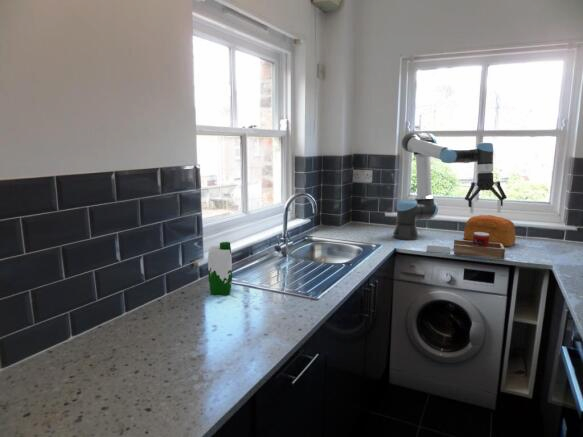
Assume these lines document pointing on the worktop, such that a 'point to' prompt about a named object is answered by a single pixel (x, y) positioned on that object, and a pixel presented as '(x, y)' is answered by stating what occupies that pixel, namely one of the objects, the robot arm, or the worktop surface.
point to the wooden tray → (479, 249)
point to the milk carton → (220, 269)
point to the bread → (491, 229)
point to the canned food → (480, 239)
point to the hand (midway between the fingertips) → (485, 213)
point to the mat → (438, 249)
